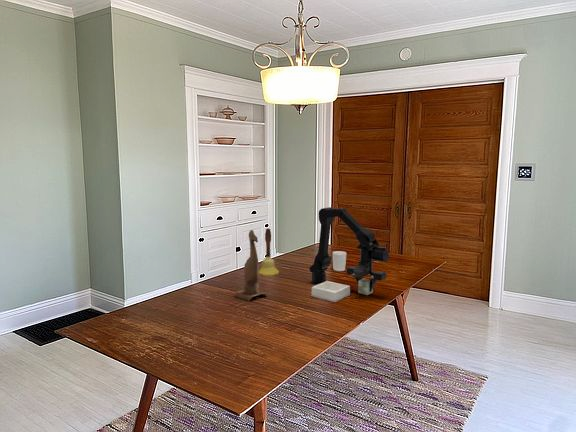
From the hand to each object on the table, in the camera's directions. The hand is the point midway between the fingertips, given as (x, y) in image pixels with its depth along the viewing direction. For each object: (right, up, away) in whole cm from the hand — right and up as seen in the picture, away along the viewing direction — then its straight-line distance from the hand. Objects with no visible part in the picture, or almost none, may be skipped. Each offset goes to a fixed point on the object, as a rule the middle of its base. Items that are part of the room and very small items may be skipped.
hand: (365, 290), depth 207 cm
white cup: (-7, +4, +43) cm, 44 cm away
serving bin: (-17, -2, -2) cm, 17 cm away
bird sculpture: (-54, -3, -3) cm, 55 cm away
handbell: (-48, +4, +37) cm, 61 cm away
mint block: (0, -1, 0) cm, 1 cm away
